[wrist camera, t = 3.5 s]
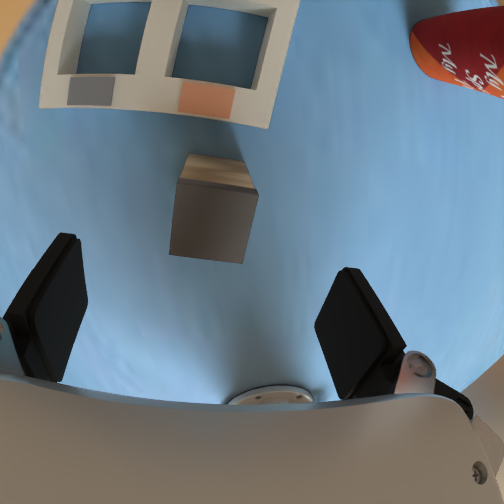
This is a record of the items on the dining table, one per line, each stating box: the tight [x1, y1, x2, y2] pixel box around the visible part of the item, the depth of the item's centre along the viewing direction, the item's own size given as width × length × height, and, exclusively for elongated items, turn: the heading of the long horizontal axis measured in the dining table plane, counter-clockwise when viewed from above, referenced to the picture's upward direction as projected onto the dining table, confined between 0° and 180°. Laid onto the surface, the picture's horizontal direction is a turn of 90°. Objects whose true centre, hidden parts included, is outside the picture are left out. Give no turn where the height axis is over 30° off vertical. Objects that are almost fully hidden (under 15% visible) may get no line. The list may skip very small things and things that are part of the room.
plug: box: [169, 153, 259, 264], centre depth 19 cm, size 4×4×7 cm
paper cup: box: [410, 6, 504, 99], centre depth 11 cm, size 8×8×14 cm
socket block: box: [39, 0, 300, 129], centre depth 14 cm, size 15×10×3 cm, turn 77°
